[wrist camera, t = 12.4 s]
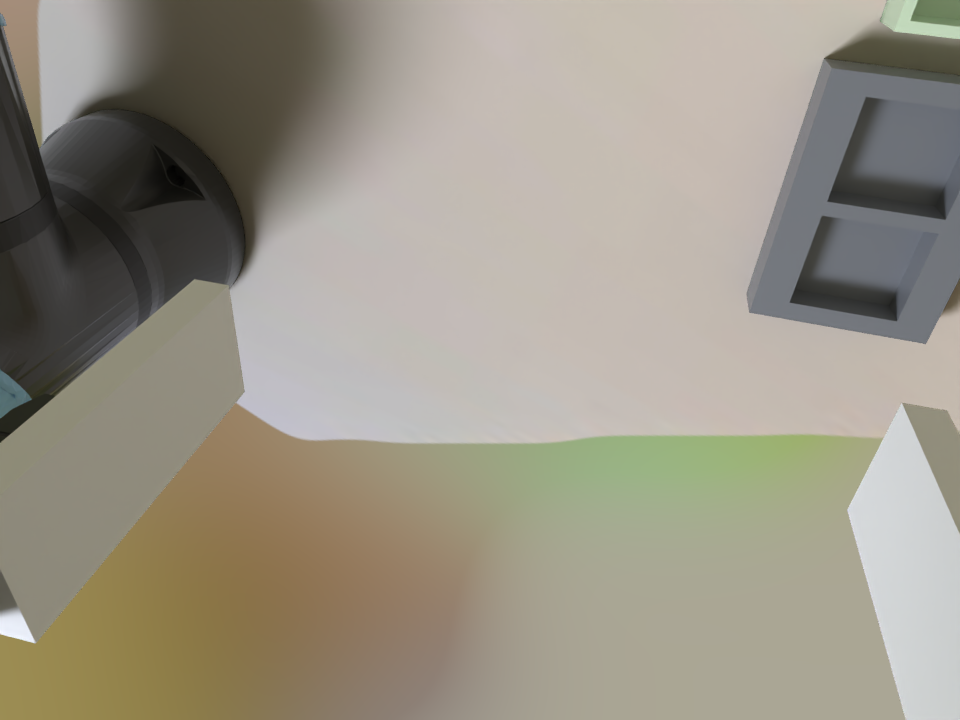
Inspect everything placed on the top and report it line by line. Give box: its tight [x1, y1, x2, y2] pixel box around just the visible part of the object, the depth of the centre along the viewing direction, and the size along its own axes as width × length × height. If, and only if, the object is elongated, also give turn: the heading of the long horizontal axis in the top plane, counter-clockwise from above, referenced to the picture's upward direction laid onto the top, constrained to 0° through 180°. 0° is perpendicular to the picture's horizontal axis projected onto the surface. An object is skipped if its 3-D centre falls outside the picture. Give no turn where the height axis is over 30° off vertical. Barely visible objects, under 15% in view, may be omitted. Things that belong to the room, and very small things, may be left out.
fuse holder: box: [747, 58, 960, 344], centre depth 39 cm, size 10×14×2 cm
